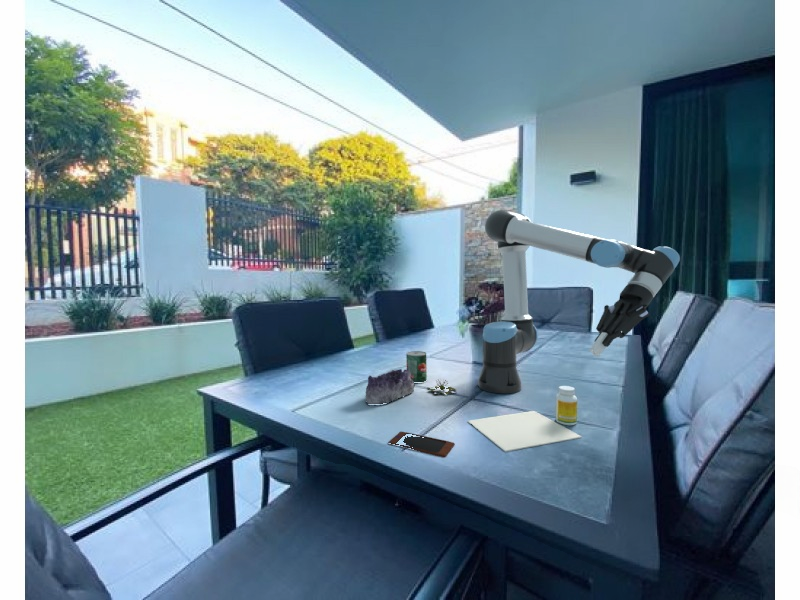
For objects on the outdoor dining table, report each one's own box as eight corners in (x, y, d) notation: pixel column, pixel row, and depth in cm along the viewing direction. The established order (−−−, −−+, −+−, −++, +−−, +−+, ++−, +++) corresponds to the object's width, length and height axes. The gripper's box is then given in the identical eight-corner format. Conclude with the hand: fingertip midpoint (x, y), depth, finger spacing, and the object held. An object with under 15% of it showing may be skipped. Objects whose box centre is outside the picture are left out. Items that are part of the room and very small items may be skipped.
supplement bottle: (552, 418, 100) (552, 385, 99) (570, 417, 100) (571, 384, 100) (561, 426, 95) (561, 391, 94) (580, 425, 95) (581, 390, 94)
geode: (386, 411, 108) (381, 379, 108) (358, 408, 114) (353, 378, 114) (421, 390, 124) (417, 362, 124) (395, 389, 131) (391, 362, 131)
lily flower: (452, 386, 132) (452, 374, 132) (463, 396, 120) (463, 383, 120) (421, 388, 130) (421, 376, 130) (430, 399, 118) (429, 386, 118)
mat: (505, 451, 81) (505, 450, 81) (467, 421, 98) (467, 420, 98) (581, 437, 88) (581, 436, 88) (533, 411, 105) (533, 410, 105)
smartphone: (400, 430, 92) (455, 442, 85) (400, 433, 92) (455, 445, 85) (387, 442, 86) (445, 455, 79) (387, 445, 86) (445, 459, 79)
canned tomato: (427, 383, 134) (427, 355, 133) (406, 384, 134) (406, 355, 133) (426, 377, 142) (425, 350, 141) (406, 378, 142) (406, 351, 141)
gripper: (669, 301, 97) (622, 366, 93) (626, 299, 109) (583, 357, 105) (655, 282, 95) (606, 348, 91) (613, 282, 107) (568, 340, 103)
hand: (594, 353), depth 98 cm, fingers closed
